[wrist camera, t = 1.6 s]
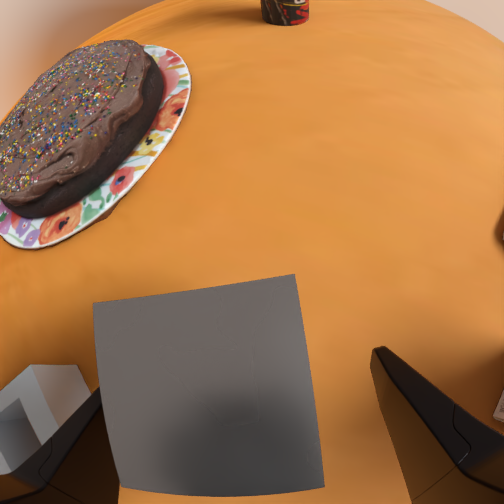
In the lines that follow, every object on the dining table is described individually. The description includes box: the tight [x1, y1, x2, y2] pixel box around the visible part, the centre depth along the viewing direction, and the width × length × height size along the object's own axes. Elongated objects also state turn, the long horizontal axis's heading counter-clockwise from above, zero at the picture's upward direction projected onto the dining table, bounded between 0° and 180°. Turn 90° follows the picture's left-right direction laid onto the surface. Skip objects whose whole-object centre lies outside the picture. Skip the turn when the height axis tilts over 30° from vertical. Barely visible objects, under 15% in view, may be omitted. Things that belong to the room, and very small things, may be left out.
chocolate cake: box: [0, 40, 192, 250], centre depth 23 cm, size 28×28×7 cm
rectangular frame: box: [0, 364, 91, 475], centre depth 13 cm, size 9×14×5 cm, turn 125°
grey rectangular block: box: [93, 274, 325, 497], centre depth 11 cm, size 4×4×13 cm
